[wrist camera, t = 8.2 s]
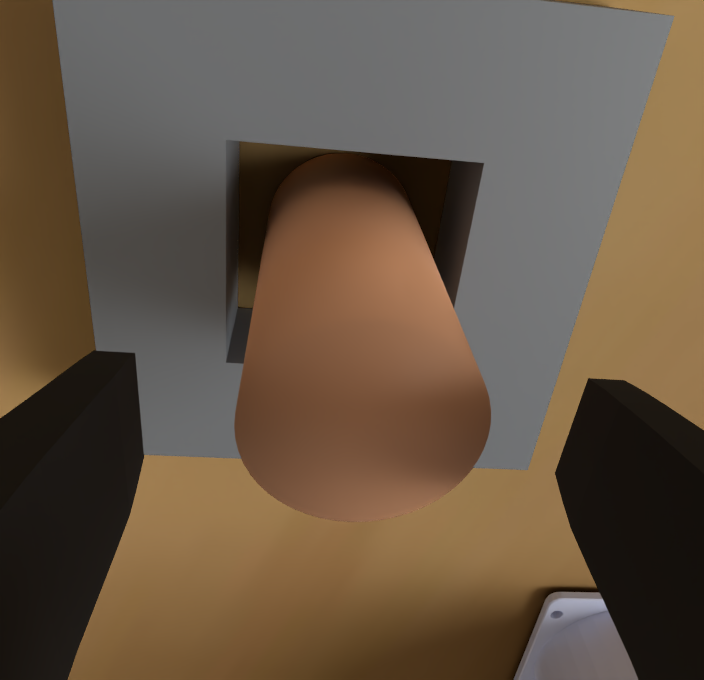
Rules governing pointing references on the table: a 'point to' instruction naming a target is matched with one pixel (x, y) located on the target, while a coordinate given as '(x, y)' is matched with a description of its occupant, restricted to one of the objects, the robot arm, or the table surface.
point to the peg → (355, 353)
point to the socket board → (349, 135)
